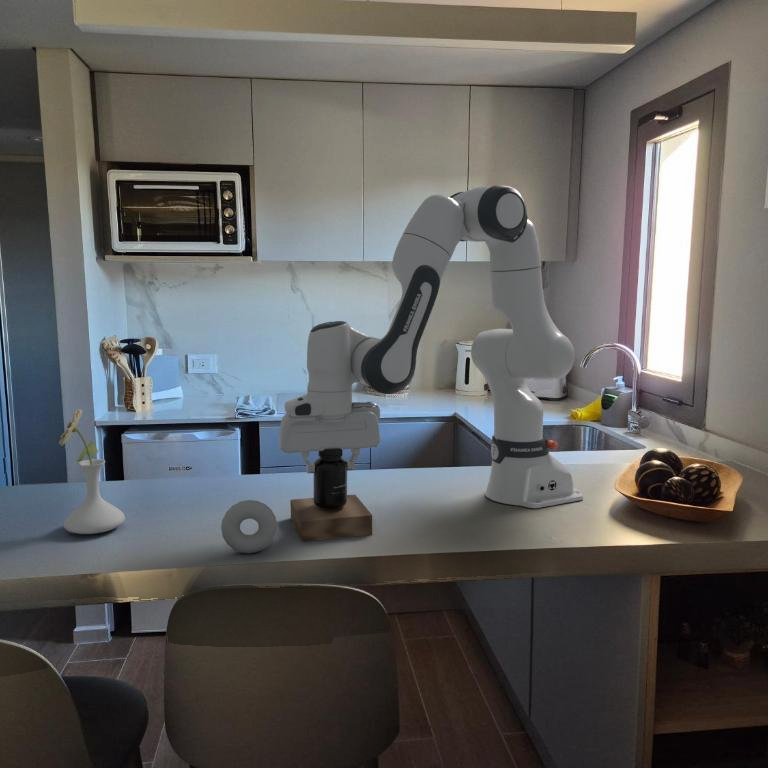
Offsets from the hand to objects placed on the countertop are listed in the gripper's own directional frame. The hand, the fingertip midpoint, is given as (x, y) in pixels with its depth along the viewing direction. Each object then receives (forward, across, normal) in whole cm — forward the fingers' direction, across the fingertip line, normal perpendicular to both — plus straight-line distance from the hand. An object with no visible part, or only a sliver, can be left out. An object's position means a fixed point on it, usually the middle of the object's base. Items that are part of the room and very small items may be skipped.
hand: (330, 471), depth 136 cm
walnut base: (+12, 0, 0) cm, 12 cm away
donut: (+12, +17, +10) cm, 23 cm away
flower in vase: (+12, +46, -10) cm, 49 cm away
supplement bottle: (+7, 0, 0) cm, 7 cm away
